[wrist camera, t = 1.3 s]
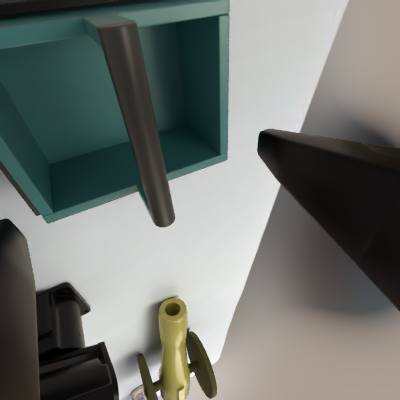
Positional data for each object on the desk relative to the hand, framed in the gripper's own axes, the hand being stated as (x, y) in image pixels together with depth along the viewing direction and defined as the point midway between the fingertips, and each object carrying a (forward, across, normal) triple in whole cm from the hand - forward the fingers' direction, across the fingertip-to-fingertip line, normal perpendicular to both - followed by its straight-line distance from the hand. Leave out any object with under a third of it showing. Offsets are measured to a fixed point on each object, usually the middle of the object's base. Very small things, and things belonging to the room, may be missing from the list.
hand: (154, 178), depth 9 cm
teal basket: (+11, 0, 0) cm, 11 cm away
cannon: (+12, +3, +43) cm, 45 cm away
